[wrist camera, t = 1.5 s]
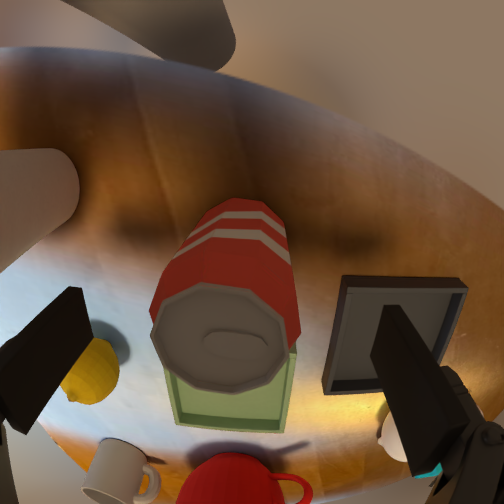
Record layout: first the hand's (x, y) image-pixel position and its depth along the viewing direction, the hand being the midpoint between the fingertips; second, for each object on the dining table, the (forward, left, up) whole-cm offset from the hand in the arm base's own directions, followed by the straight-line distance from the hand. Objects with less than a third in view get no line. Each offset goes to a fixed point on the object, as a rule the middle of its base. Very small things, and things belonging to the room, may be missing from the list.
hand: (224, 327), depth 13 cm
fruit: (+11, -13, -11) cm, 20 cm away
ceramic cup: (+29, +1, -11) cm, 31 cm away
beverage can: (0, 0, -11) cm, 11 cm away
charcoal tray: (+8, +13, -10) cm, 18 cm away
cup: (+32, -15, -11) cm, 37 cm away
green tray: (+14, -1, -10) cm, 17 cm away
